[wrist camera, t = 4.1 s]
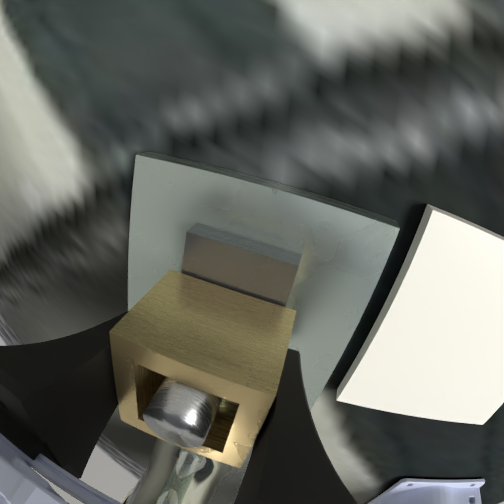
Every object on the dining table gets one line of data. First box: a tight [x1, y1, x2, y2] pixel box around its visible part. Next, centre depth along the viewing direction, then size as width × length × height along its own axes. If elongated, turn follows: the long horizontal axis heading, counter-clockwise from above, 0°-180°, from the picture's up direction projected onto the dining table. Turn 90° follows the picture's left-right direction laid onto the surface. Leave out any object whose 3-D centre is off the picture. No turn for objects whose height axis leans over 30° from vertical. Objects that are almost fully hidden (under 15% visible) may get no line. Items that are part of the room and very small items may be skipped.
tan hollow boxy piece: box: [109, 269, 296, 468], centre depth 11 cm, size 5×5×4 cm
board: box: [337, 204, 504, 425], centre depth 12 cm, size 10×10×1 cm
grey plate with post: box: [128, 151, 400, 448], centre depth 11 cm, size 10×12×7 cm
